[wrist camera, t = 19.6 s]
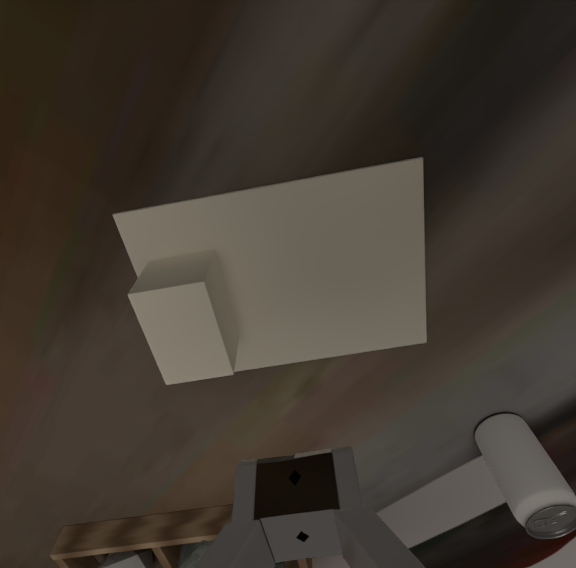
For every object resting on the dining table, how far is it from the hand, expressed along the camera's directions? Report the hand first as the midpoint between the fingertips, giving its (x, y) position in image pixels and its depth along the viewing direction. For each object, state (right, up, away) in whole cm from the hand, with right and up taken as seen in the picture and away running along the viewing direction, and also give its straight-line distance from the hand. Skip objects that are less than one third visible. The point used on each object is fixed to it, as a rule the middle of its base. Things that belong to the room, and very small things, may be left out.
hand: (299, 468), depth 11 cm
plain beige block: (-9, 0, +25) cm, 27 cm away
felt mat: (-1, +5, +30) cm, 31 cm away
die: (-24, -36, +53) cm, 68 cm away
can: (+27, -14, +41) cm, 51 cm away
